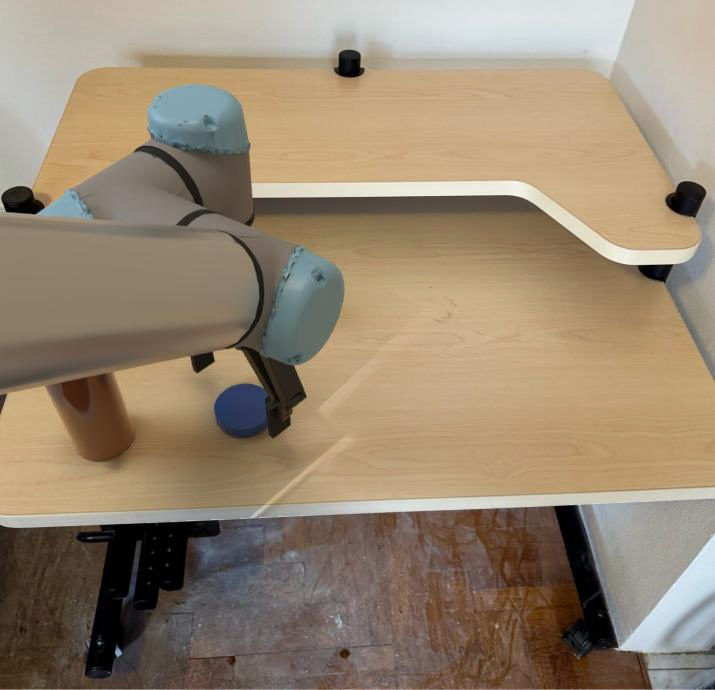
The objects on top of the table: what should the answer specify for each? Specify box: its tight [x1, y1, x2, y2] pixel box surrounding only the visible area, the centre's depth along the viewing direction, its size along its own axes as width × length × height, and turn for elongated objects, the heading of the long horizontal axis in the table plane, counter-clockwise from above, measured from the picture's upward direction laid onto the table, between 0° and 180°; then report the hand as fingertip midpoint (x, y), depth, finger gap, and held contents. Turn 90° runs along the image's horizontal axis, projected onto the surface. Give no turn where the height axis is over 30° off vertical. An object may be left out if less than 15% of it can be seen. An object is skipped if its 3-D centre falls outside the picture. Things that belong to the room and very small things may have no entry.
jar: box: [43, 372, 136, 462], centre depth 72 cm, size 7×7×17 cm
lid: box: [213, 382, 268, 439], centre depth 81 cm, size 7×7×2 cm
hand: (240, 397), depth 78 cm, fingers open, 13 cm apart
